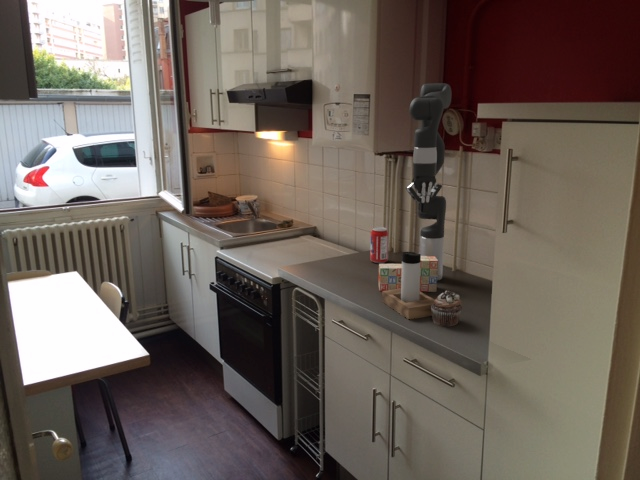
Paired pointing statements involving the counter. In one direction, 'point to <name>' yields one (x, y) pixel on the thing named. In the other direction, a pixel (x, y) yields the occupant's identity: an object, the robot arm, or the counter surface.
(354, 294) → the counter surface
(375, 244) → the soda can
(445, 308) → the cupcake
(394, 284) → the stack of blocks
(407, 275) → the travel mug
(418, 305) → the holder board
